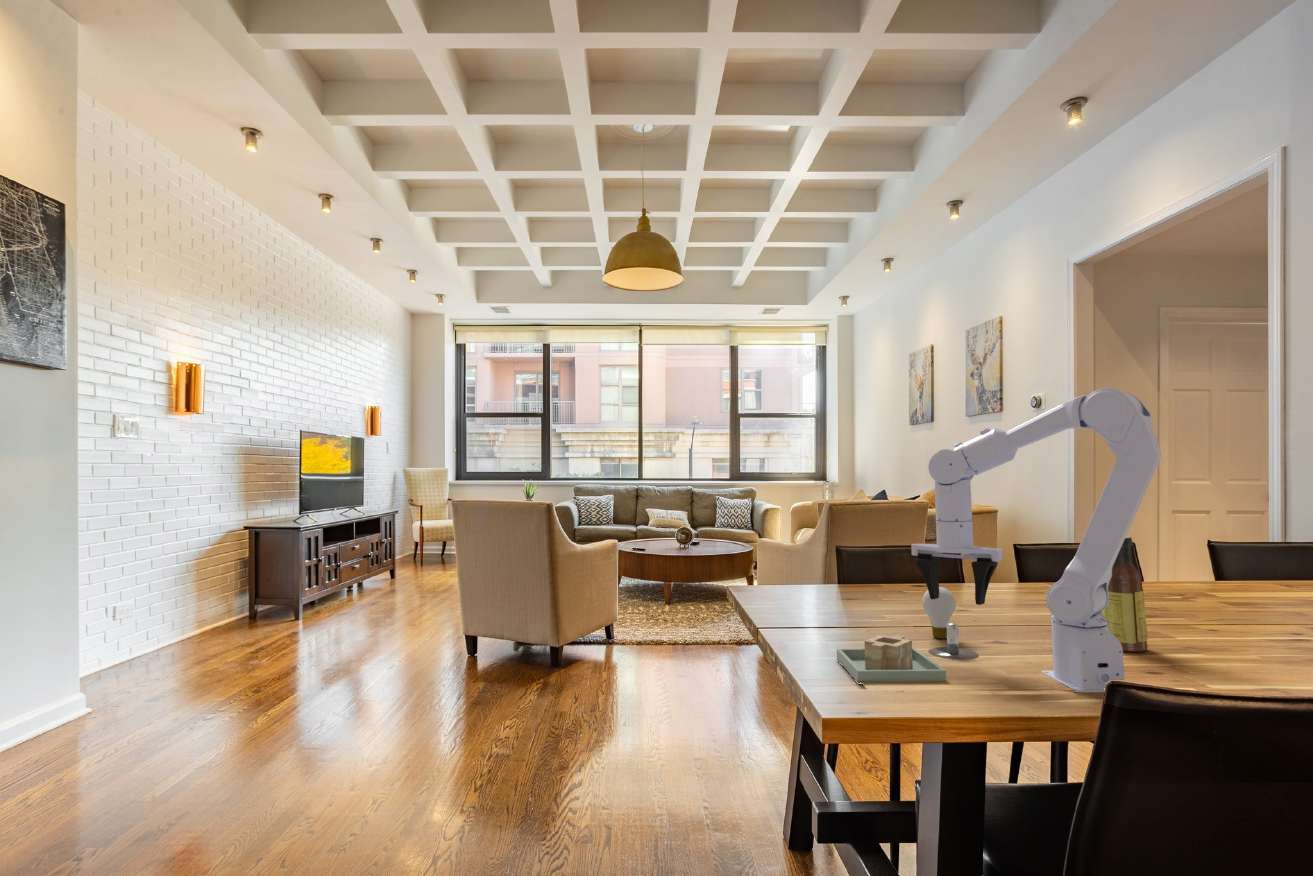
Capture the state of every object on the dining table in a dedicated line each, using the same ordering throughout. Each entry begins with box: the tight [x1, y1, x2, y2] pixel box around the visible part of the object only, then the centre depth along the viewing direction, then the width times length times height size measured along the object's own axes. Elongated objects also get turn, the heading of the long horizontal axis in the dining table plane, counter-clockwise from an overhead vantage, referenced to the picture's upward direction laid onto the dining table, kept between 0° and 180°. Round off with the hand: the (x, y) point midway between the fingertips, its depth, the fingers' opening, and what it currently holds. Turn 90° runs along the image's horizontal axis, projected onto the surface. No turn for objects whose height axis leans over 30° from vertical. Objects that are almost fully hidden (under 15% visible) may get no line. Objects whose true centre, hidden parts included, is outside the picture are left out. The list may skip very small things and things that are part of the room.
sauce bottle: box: [1102, 535, 1149, 653], centre depth 123 cm, size 7×6×20 cm
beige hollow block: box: [864, 634, 913, 670], centre depth 111 cm, size 8×5×4 cm, turn 136°
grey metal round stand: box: [928, 622, 980, 661], centre depth 119 cm, size 8×8×6 cm
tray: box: [836, 647, 947, 683], centre depth 111 cm, size 13×13×2 cm
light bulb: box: [921, 586, 957, 640], centre depth 130 cm, size 6×6×10 cm
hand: (956, 601), depth 117 cm, fingers open, 7 cm apart
